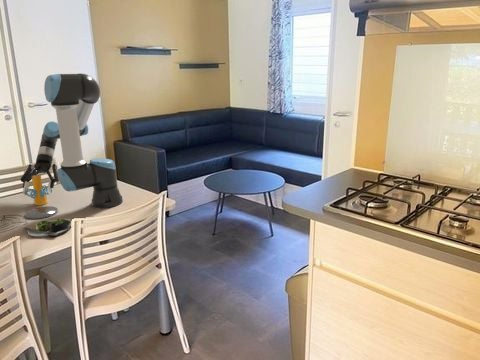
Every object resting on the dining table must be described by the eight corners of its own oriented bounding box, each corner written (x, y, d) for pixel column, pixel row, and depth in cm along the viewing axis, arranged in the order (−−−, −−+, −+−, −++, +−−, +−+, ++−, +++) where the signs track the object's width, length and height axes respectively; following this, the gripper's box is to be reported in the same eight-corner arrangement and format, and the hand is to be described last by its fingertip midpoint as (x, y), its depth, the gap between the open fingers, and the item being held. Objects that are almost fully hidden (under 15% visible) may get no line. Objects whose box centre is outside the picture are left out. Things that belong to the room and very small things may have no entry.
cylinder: (42, 208, 192) (37, 179, 187) (23, 207, 194) (18, 178, 189) (57, 200, 203) (53, 172, 199) (40, 198, 205) (35, 172, 201)
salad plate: (15, 241, 158) (12, 230, 157) (33, 223, 175) (31, 214, 174) (63, 238, 159) (61, 228, 158) (77, 221, 176) (75, 212, 175)
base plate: (64, 210, 189) (63, 208, 189) (40, 221, 177) (39, 219, 176) (43, 206, 194) (43, 204, 194) (18, 216, 182) (18, 214, 182)
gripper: (70, 160, 208) (62, 196, 198) (25, 160, 207) (16, 197, 197) (64, 152, 201) (57, 190, 191) (19, 153, 201) (8, 191, 190)
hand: (36, 193), depth 194 cm, fingers closed on cylinder, 11 cm apart
